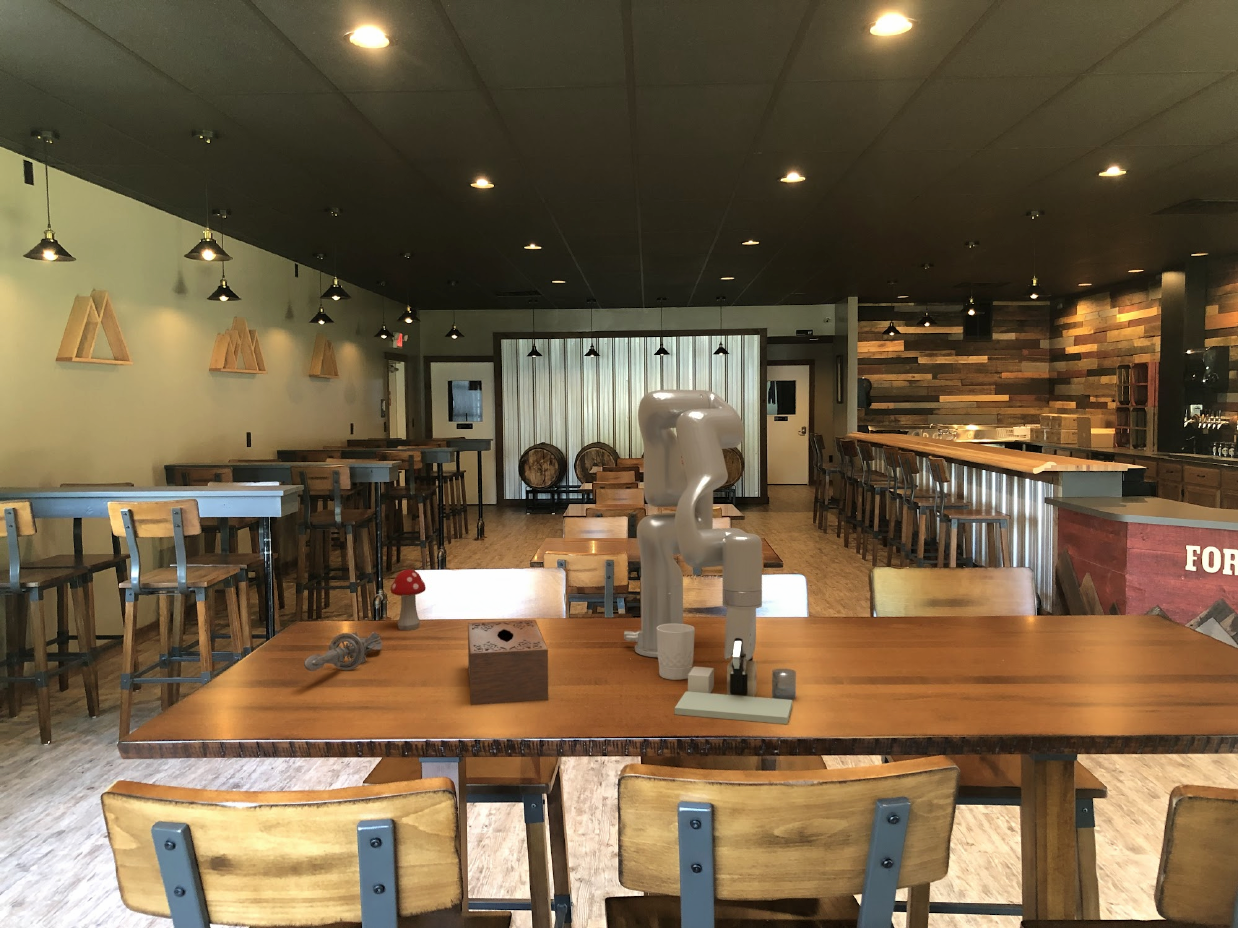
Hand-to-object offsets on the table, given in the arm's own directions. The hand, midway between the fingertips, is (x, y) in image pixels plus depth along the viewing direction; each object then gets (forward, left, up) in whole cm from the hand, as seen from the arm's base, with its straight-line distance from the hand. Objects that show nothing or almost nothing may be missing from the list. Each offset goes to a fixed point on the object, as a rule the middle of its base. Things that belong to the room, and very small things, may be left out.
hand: (742, 687), depth 171 cm
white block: (-8, 0, -1) cm, 8 cm away
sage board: (0, -10, -1) cm, 10 cm away
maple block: (0, 0, -1) cm, 1 cm away
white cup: (-15, +9, -1) cm, 18 cm away
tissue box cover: (-47, -5, -2) cm, 47 cm away
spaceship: (-84, -5, -2) cm, 84 cm away
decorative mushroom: (-90, +33, -1) cm, 96 cm away
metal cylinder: (+8, 0, -1) cm, 8 cm away
